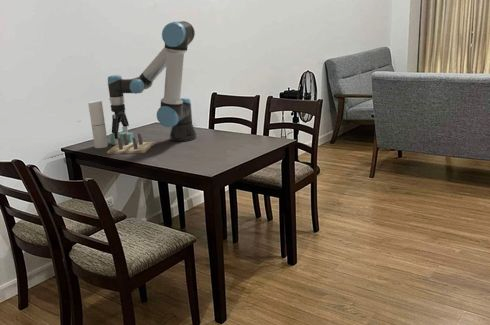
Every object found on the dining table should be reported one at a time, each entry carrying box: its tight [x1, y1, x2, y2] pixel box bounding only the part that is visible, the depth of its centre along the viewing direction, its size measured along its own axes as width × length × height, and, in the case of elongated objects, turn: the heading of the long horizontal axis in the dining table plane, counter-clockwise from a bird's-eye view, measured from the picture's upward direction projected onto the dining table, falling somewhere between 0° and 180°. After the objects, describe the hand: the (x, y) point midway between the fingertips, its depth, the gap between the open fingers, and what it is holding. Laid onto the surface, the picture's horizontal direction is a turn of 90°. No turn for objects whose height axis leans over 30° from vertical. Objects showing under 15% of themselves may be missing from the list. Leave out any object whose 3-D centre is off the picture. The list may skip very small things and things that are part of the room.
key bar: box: [109, 131, 135, 146], centre depth 275 cm, size 12×4×6 cm, turn 77°
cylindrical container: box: [87, 100, 109, 149], centre depth 268 cm, size 7×7×25 cm
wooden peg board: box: [106, 132, 155, 155], centre depth 262 cm, size 20×18×7 cm
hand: (122, 141), depth 275 cm, fingers open, 13 cm apart
